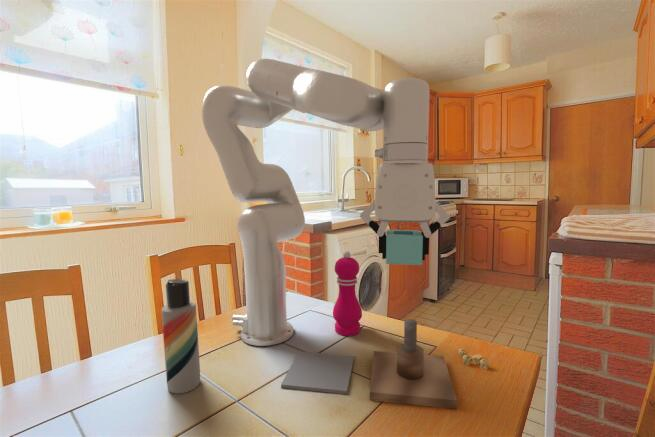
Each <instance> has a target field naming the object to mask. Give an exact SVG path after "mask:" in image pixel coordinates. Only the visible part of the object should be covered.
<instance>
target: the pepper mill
mask: <svg viewBox="0 0 655 437" xmlns="http://www.w3.org/2000/svg"><path fill="white" fill-rule="evenodd" d="M342 255H343V257H340V258H339V259H338V260H336V262H335V263H334V272H335V274H336V275H337V277H336V283H337V285H338V295H337V298H336V301H335V303H334V305H333V310H332V317H333V319H334V320H335V323H334V332H335V333H336V334H338V335H340V336H345V337H352V336H355V335H358V334H359V333H360V332H361V322H360V320H361V319H362V318H363V317H362V316H363V310H362V307H361V304H360V302H359V300H358V297H357V295H356V294H357V293H356V285H357V284H358V277H357V275H358V274H359V273H360V265H359V262H358V261H357V259H355V258H353V257H351V252H350V251H349V250H345V251H344V252H343V254H342Z"/></svg>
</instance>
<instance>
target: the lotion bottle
mask: <svg viewBox="0 0 655 437" xmlns="http://www.w3.org/2000/svg"><path fill="white" fill-rule="evenodd" d="M165 294H166V304H165V305H164V306H163V307H162V308H161V321H162V322H161V324H162V336H163V338H162V339H163V349H164V363H165V375H166V387H167V390H168V391H169V392H170V393H172V394H176V395H177V394H178V395H179V394H185V393H188V392H191V391H192V390H194V389H196V388H197V387H198V386H199V385H200V383H201V366H200V365H201V364H200V350H199V347H200V346H199V332H198V318H197V305H196V302H194V301H191V296H190V295H191V294H190V282H189V280H187V279H184V278H171V279H168V280H167V281H166V283H165Z"/></svg>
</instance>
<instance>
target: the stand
mask: <svg viewBox="0 0 655 437" xmlns="http://www.w3.org/2000/svg"><path fill="white" fill-rule="evenodd" d="M403 323H404V324H403V325H404V327H403V328H404V331H403V332H404V335H403V336H404V338H403V340H404V341H403V343H400V344H398V345H397V346H396V352H393V351H383V350H382V351H381V350H373V353H372V362H371V363H372V366H371V375H370V376H371V377H370V384H369V400H370V401H375V402H385V403H395V404H402V405H403V404H404V405H405V404H406V405H412V406H413V405H415V406H424V407H433V408H434V407H435V408H445V409H453V410H454V409H457V407H458V398H457V396H456V393H455V390H454V386H453V382H452V380H451V377H450V372H449V369H448V367H447V366H448V365H447V362H446V359H445V356H444V355H435V354H424V353H425V350H424V348H423V347H422V346H420V345H418V344H417V339H418V338H417V335H418V333H417V332H418V330H417V328H418V327H417V326H418V321H417V320H415V319H411V318H409V319H408V318H407V319H405V320H404V321H403Z"/></svg>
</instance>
